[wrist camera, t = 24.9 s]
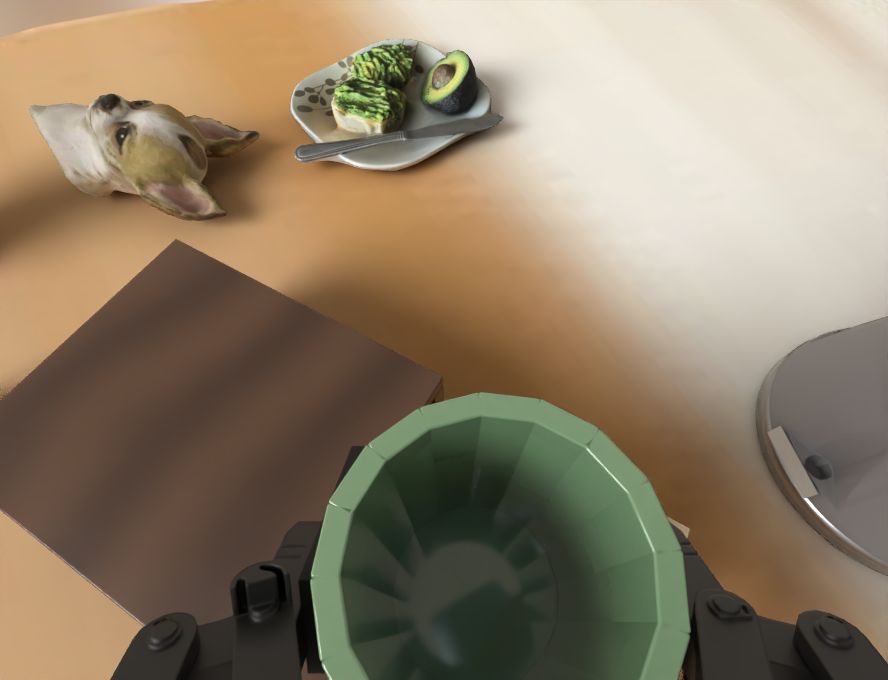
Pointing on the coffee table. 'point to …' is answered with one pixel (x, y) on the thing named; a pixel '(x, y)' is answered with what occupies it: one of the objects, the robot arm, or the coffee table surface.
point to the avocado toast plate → (390, 106)
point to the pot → (498, 553)
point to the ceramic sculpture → (140, 151)
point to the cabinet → (192, 432)
